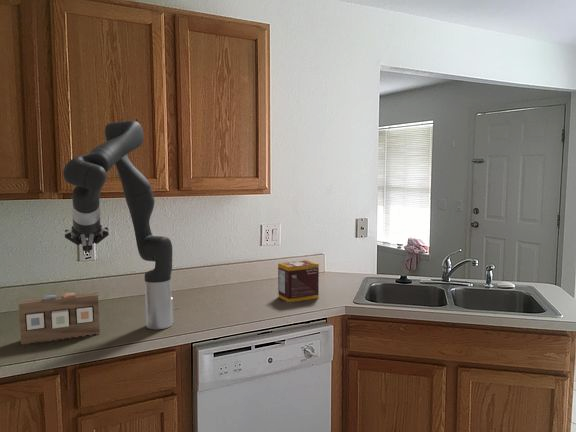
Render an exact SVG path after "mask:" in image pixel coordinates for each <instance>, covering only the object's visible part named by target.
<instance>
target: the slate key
mask: <svg viewBox="0 0 576 432" xmlns="http://www.w3.org/2000/svg"><path fill="white" fill-rule="evenodd" d="M26 319H27V330H31V329H39V328H44V327H45V314H44V312H36V313H28V314H27V315H26Z"/></svg>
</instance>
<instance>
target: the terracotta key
mask: <svg viewBox="0 0 576 432" xmlns="http://www.w3.org/2000/svg"><path fill="white" fill-rule="evenodd" d="M76 310H77V323H84V322H92V321H93V312H92V306H86V307H78V308H76Z"/></svg>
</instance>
